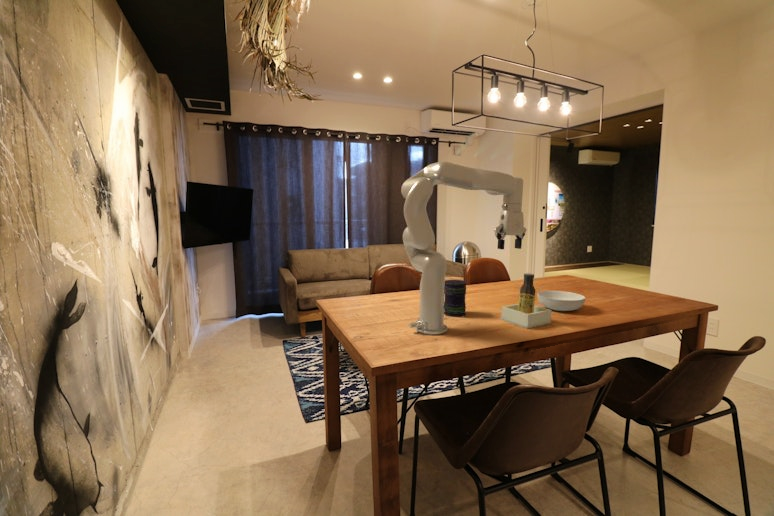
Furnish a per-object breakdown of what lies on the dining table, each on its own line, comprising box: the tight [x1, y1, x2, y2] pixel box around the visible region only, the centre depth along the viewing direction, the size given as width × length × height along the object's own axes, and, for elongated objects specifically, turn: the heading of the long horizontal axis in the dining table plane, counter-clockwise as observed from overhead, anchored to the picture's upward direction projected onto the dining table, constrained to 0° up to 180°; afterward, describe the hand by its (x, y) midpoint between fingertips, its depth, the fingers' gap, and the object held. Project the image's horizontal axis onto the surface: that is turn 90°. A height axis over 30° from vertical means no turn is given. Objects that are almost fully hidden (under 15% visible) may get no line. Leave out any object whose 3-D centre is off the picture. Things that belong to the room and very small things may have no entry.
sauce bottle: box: [518, 272, 536, 314], centre depth 157 cm, size 7×6×20 cm
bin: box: [500, 303, 553, 330], centre depth 158 cm, size 14×14×6 cm
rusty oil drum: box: [444, 279, 467, 318], centre depth 170 cm, size 10×10×15 cm
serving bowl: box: [536, 290, 586, 312], centre depth 178 cm, size 21×21×7 cm
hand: (509, 248), depth 158 cm, fingers open, 9 cm apart
